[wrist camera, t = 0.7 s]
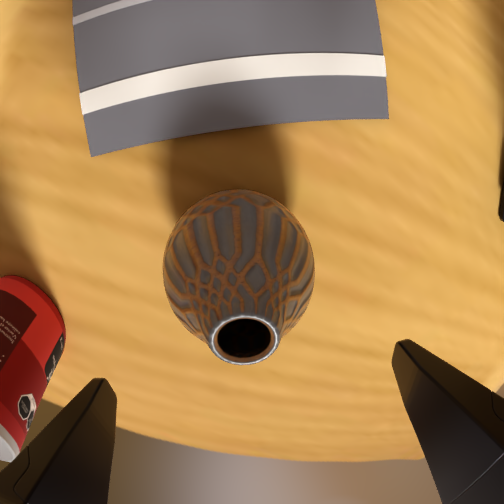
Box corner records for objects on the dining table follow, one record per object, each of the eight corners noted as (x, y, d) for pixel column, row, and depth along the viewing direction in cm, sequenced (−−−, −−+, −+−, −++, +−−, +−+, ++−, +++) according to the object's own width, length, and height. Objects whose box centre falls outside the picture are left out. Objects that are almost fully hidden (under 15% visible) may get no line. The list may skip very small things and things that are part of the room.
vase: (231, 306, 20) (236, 422, 12) (150, 232, 18) (101, 332, 10) (319, 240, 19) (378, 338, 11) (242, 149, 16) (257, 195, 8)
